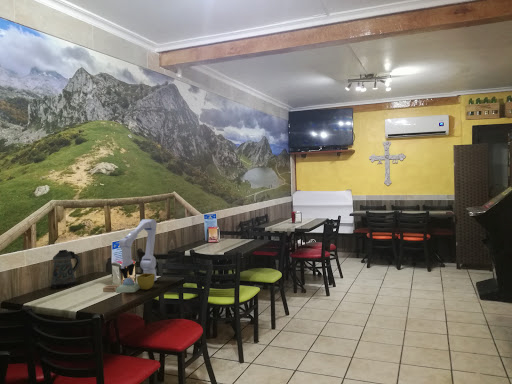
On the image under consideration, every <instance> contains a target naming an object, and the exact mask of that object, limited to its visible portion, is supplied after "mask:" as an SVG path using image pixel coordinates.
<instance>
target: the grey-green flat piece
mask: <svg viewBox="0 0 512 384" xmlns="http://www.w3.org/2000/svg"><path fill="white" fill-rule="evenodd" d="M119 285H120V286H119V287H117V289H116V293H117V294H118V293H120V294H121V293H136V292H137V291H138V290H141V288H140V287H139V285H138V282H134V285H123V283H122V284H119Z"/></svg>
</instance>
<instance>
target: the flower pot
mask: <svg viewBox="0 0 512 384" xmlns="http://www.w3.org/2000/svg"><path fill="white" fill-rule="evenodd" d="M154 279H155V274H150V273H144V272H143V273H142V274H138V275H137V276H136V281H137V282H136V283H138V285H139V287H140V290H149V289H152V287H153V286H154V284H155V281H154Z"/></svg>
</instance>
